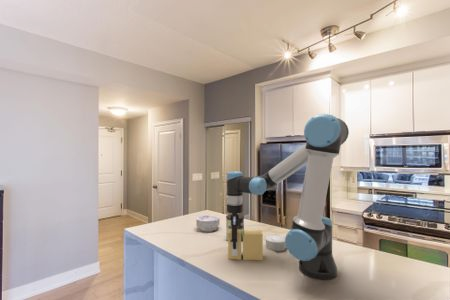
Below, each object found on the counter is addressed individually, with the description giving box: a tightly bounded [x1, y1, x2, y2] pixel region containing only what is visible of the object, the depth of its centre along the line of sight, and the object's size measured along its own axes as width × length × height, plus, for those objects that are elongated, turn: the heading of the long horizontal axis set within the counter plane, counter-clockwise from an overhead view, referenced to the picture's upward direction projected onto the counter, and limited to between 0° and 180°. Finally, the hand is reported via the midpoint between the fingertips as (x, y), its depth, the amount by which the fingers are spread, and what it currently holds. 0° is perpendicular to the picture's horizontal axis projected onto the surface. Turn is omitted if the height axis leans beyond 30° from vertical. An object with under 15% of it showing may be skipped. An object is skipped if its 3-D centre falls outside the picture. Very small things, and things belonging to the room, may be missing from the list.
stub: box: [227, 229, 242, 260], centre depth 111 cm, size 6×6×12 cm
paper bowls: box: [195, 214, 220, 233], centre depth 153 cm, size 15×15×8 cm
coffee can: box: [225, 213, 245, 243], centre depth 133 cm, size 10×10×14 cm
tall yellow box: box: [242, 229, 264, 261], centre depth 110 cm, size 9×6×12 cm, turn 86°
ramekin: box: [264, 234, 287, 253], centre depth 123 cm, size 11×11×5 cm
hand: (234, 252), depth 111 cm, fingers open, 6 cm apart
